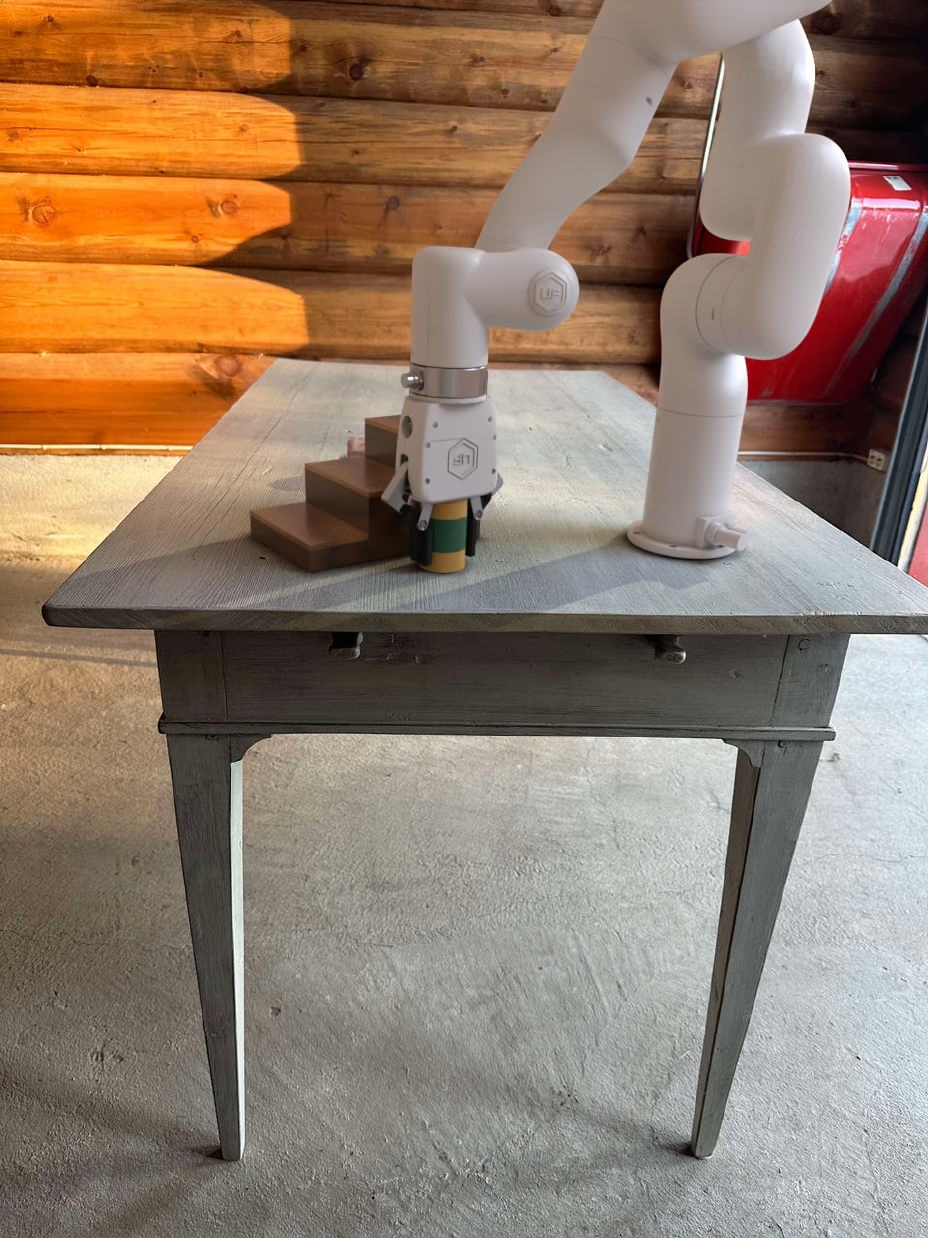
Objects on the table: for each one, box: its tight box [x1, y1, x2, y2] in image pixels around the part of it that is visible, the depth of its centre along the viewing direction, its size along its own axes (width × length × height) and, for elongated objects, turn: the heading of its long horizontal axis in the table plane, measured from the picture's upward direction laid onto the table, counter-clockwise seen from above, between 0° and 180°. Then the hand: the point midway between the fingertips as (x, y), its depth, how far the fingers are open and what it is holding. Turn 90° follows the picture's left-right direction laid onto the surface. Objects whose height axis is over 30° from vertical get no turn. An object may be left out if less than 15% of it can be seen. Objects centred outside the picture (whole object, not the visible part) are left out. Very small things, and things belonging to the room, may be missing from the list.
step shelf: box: [249, 353, 489, 573], centre depth 101 cm, size 22×14×19 cm, turn 127°
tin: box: [419, 498, 468, 574], centre depth 95 cm, size 5×5×8 cm
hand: (442, 556), depth 96 cm, fingers closed on tin, 5 cm apart
